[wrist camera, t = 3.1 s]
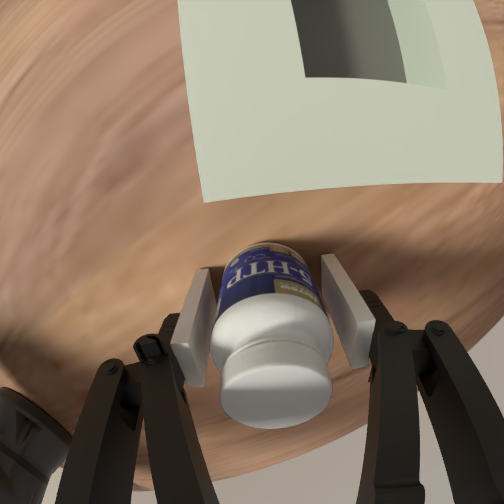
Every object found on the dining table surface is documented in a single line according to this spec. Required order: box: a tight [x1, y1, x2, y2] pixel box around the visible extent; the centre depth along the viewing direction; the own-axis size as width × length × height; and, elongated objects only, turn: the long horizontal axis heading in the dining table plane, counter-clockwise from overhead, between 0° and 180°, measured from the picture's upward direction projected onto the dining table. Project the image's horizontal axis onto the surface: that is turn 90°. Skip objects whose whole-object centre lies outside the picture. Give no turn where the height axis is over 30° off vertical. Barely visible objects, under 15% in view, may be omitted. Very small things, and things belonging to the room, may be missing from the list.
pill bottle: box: [210, 243, 334, 429], centre depth 13 cm, size 5×5×9 cm
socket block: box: [178, 0, 503, 203], centre depth 9 cm, size 16×16×4 cm
